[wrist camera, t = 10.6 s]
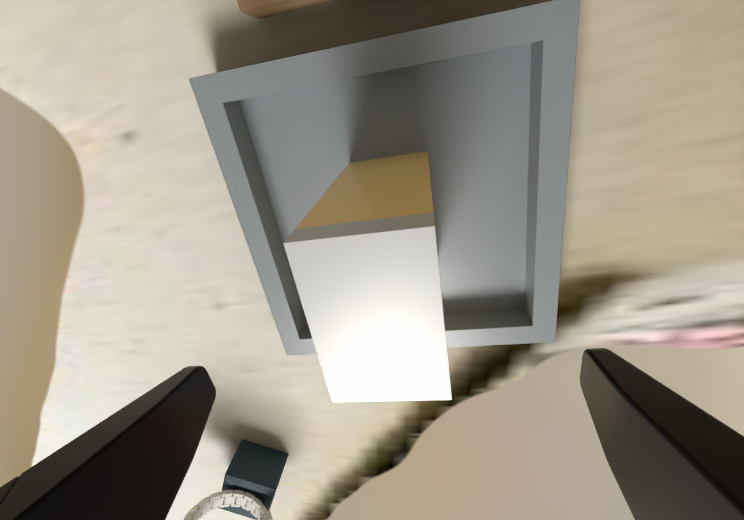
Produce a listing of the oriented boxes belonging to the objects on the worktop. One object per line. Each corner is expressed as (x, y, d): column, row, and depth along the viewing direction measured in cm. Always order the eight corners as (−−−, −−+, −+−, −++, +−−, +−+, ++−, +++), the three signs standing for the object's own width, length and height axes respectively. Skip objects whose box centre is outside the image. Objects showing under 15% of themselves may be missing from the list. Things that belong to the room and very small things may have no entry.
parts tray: (556, 6, 15) (580, -6, 13) (541, 315, 22) (554, 341, 20) (217, 78, 18) (188, 78, 16) (298, 330, 25) (286, 355, 23)
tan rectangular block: (427, 150, 18) (434, 226, 9) (438, 258, 20) (451, 399, 11) (349, 162, 18) (283, 243, 9) (369, 264, 21) (332, 402, 12)
